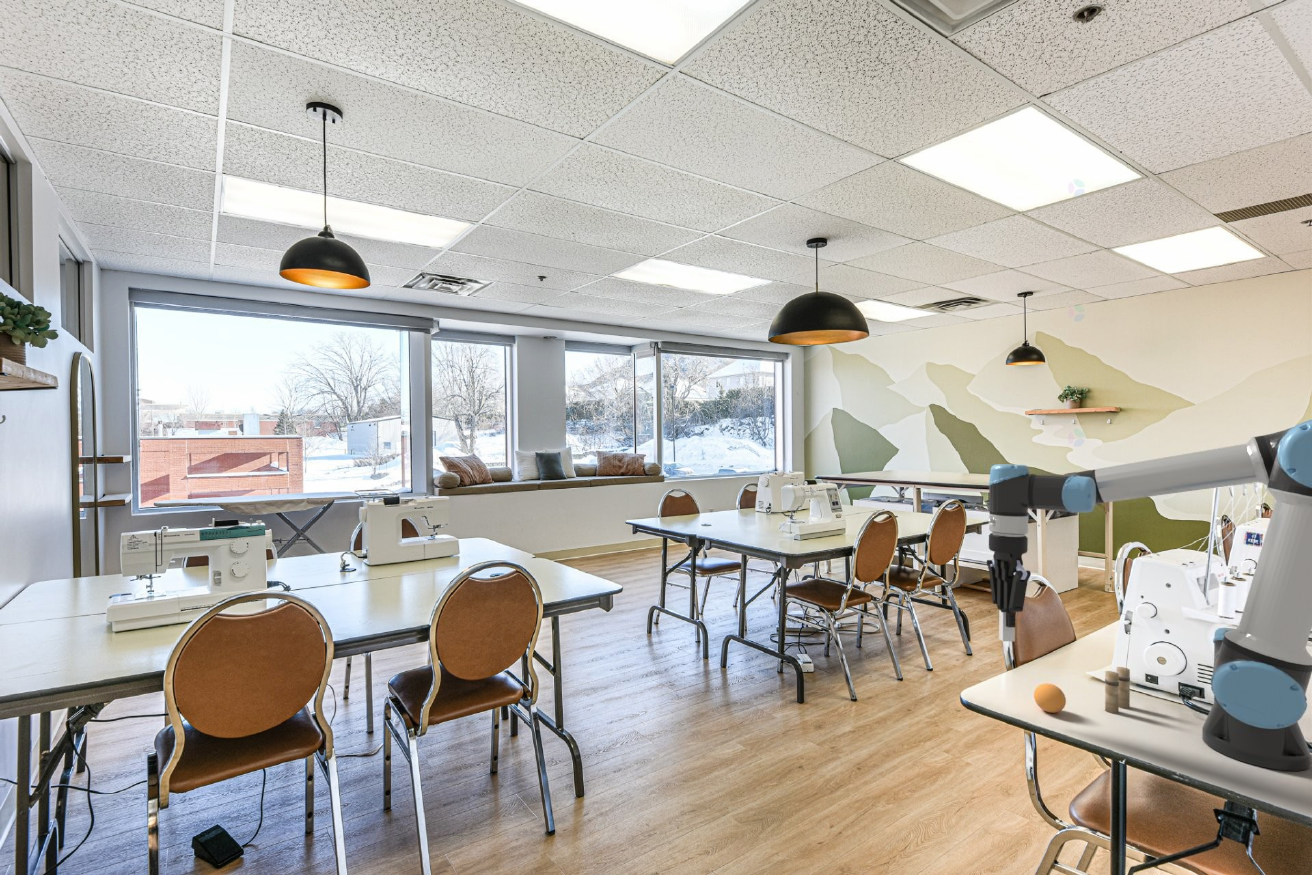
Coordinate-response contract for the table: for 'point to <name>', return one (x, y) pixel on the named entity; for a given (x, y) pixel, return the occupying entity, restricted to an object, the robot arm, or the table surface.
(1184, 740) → the table surface
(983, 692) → the table surface
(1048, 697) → the orange egg
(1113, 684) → the pin
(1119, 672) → the pin
